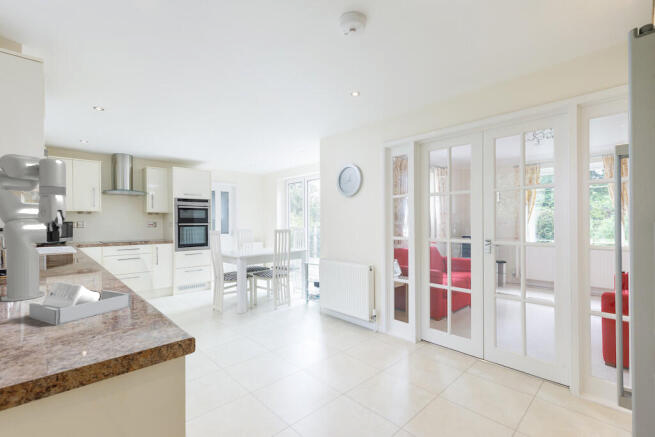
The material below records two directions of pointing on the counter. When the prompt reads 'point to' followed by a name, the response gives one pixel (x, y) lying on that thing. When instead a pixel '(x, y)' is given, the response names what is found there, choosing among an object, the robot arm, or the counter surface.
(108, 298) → the tray
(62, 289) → the container
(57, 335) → the counter surface
